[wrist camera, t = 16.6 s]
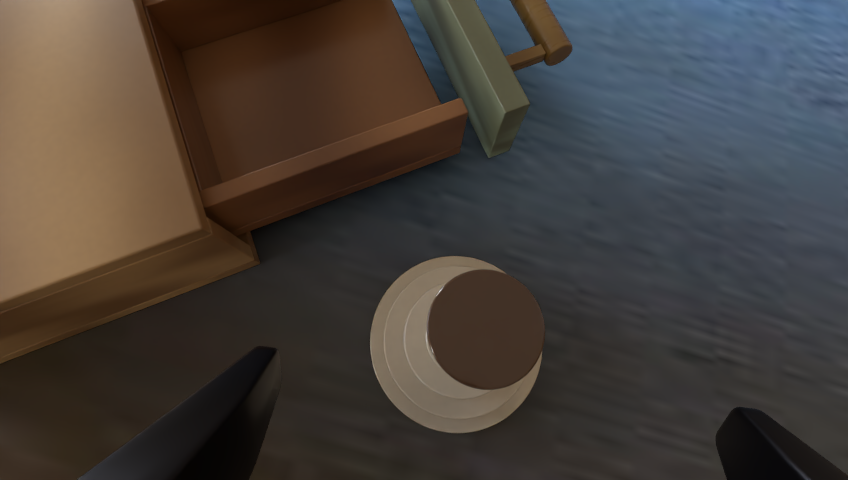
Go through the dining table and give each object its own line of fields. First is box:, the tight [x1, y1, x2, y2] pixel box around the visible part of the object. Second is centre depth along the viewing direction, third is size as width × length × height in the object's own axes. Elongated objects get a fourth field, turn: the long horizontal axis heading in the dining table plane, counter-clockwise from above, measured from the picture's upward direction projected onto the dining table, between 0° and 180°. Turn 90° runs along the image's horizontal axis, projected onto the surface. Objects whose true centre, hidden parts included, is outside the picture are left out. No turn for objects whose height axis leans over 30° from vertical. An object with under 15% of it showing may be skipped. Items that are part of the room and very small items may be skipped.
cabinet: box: [0, 0, 260, 364], centre depth 19 cm, size 16×14×6 cm
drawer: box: [141, 0, 572, 236], centre depth 21 cm, size 19×12×4 cm, turn 113°
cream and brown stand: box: [370, 256, 545, 433], centre depth 16 cm, size 8×8×9 cm
